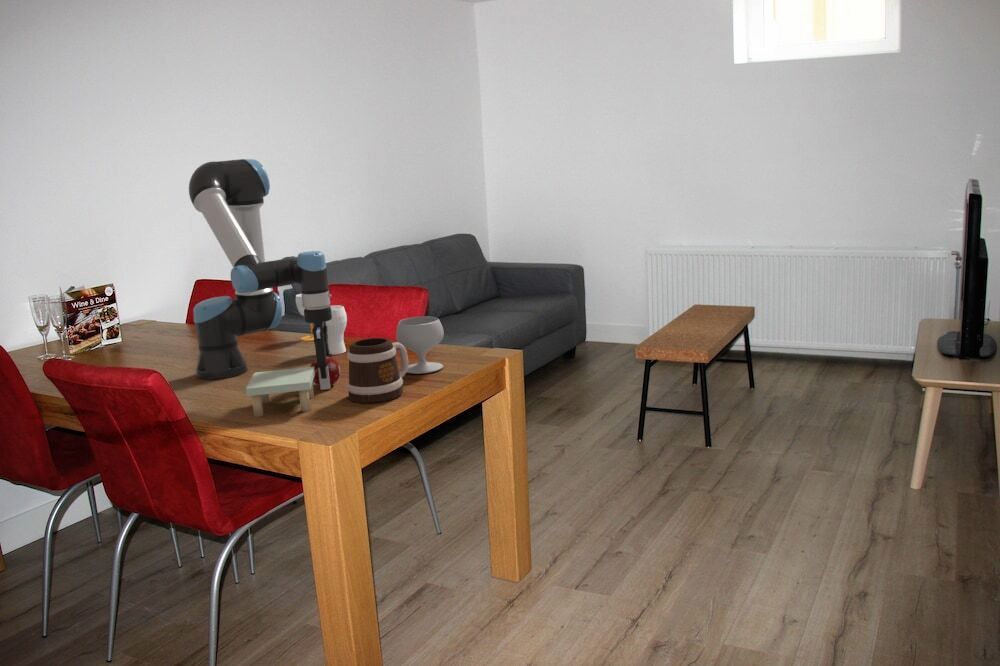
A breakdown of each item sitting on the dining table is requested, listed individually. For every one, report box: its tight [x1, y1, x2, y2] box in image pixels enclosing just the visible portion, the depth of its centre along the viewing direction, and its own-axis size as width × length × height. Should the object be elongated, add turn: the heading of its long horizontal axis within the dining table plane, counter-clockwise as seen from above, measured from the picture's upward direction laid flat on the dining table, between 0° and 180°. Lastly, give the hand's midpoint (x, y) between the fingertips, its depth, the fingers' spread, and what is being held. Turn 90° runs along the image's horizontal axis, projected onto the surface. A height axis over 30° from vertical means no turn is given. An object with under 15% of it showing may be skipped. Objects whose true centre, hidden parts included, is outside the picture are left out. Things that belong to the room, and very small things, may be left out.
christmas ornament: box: [309, 356, 341, 386], centre depth 242 cm, size 9×9×10 cm
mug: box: [346, 337, 409, 404], centre depth 230 cm, size 20×15×15 cm
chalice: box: [395, 315, 445, 375], centre depth 251 cm, size 14×14×15 cm
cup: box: [326, 304, 348, 356], centre depth 281 cm, size 11×11×15 cm
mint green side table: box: [245, 366, 315, 418], centre depth 225 cm, size 16×16×8 cm
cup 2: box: [295, 293, 314, 342], centre depth 305 cm, size 9×9×16 cm
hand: (326, 384), depth 243 cm, fingers closed on christmas ornament, 9 cm apart
